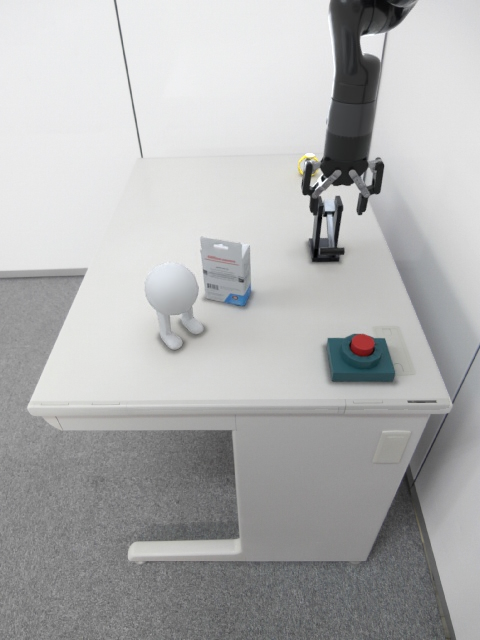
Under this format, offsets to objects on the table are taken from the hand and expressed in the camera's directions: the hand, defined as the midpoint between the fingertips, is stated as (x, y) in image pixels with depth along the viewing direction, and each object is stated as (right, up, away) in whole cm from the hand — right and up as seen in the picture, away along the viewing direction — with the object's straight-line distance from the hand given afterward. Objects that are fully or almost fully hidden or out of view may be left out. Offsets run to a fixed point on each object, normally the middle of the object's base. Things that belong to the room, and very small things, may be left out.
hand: (336, 213), depth 84 cm
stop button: (+2, -25, -11) cm, 28 cm away
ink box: (-21, -16, +6) cm, 27 cm away
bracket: (0, -5, +16) cm, 17 cm away
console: (+2, -28, -9) cm, 29 cm away
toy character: (-30, -23, -2) cm, 38 cm away
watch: (+1, +22, +46) cm, 51 cm away
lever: (0, -2, +8) cm, 9 cm away
